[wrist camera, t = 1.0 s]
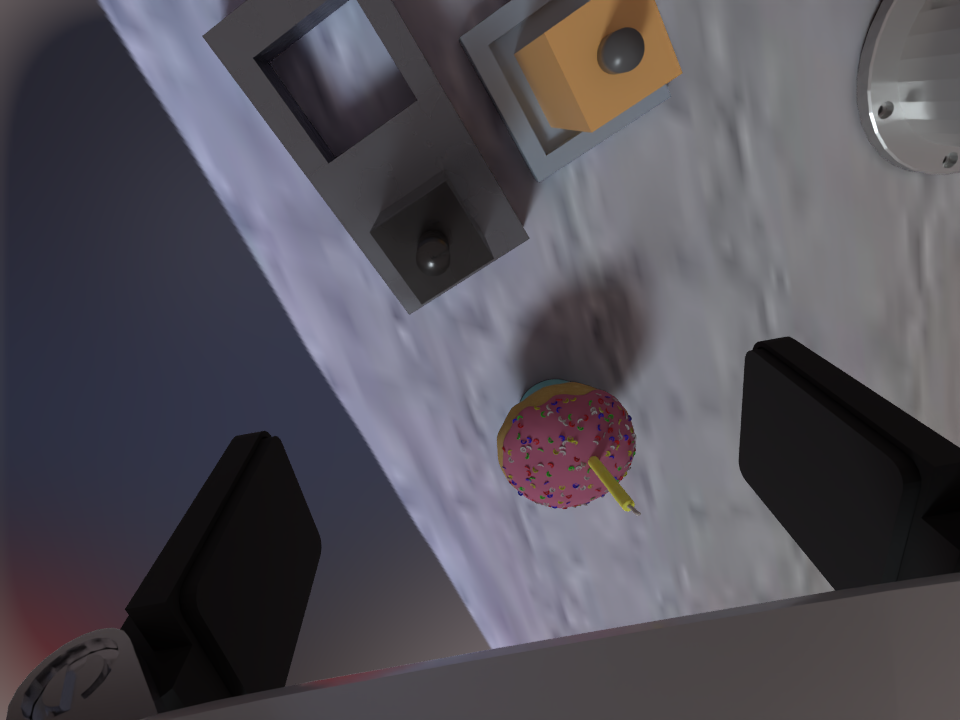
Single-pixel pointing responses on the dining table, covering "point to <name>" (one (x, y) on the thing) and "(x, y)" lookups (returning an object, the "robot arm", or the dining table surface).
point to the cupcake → (567, 445)
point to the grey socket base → (381, 155)
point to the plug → (599, 62)
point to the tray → (492, 56)
